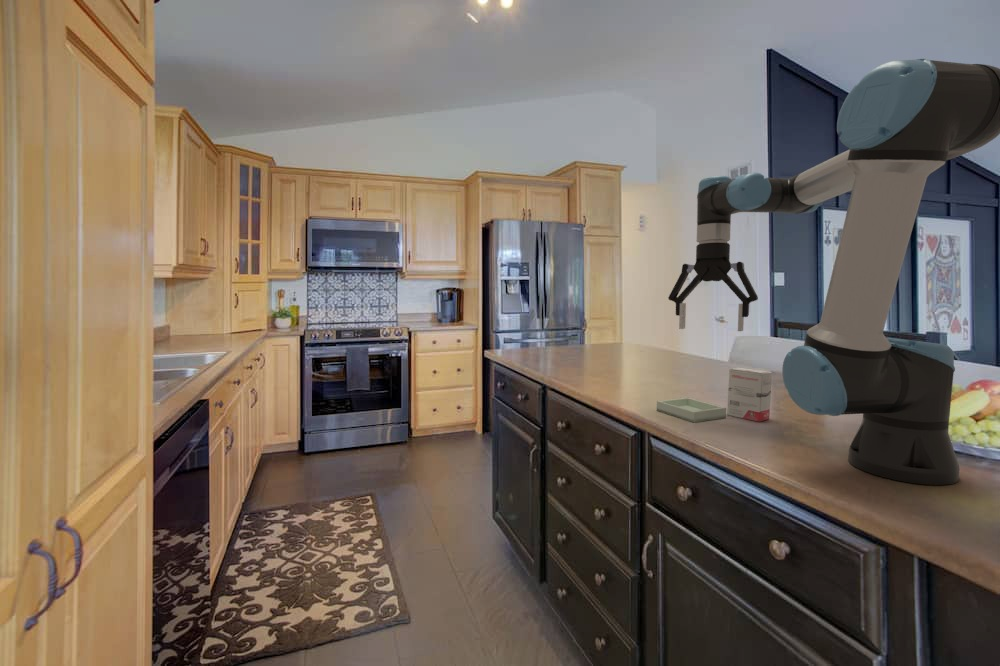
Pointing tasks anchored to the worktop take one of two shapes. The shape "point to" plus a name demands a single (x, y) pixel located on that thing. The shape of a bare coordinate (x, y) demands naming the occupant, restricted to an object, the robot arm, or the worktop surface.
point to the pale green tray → (691, 409)
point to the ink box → (749, 394)
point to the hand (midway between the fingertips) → (710, 329)
